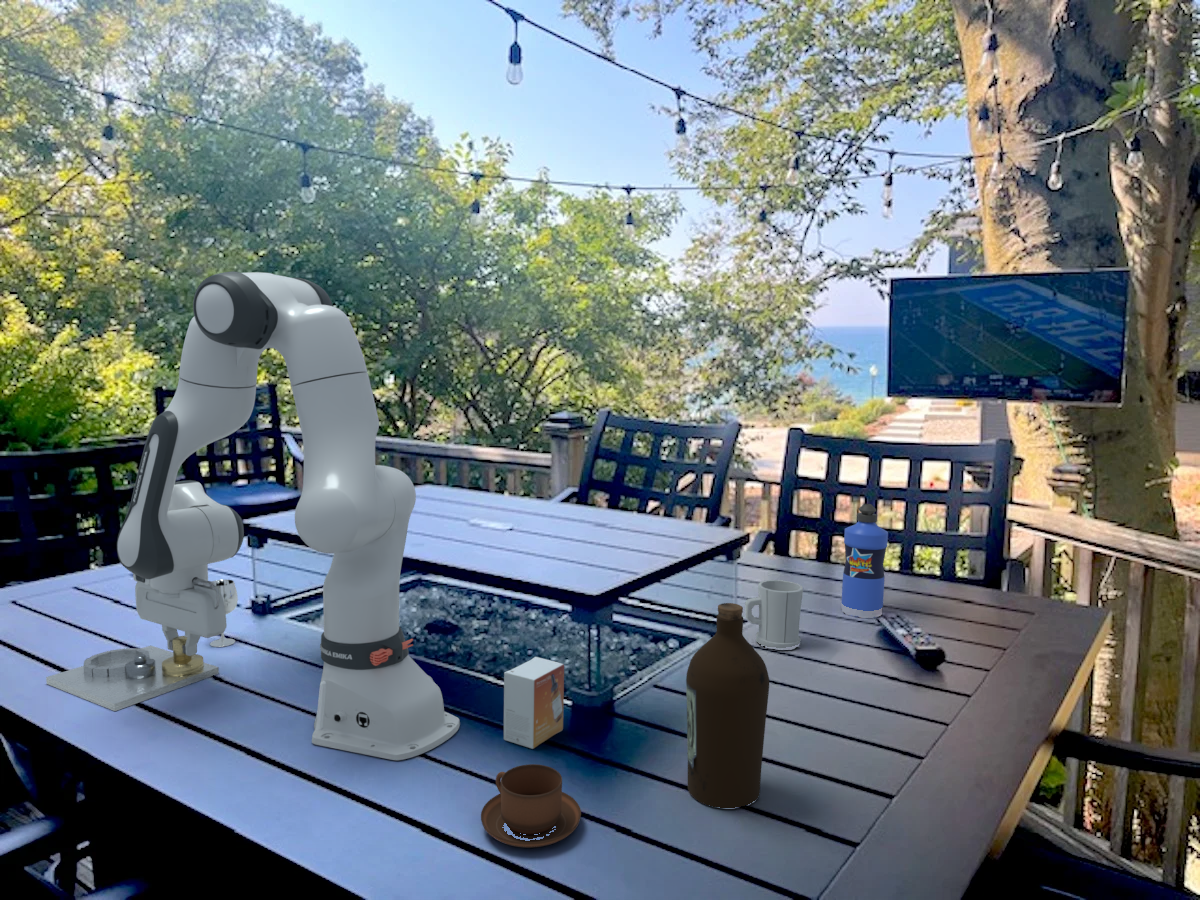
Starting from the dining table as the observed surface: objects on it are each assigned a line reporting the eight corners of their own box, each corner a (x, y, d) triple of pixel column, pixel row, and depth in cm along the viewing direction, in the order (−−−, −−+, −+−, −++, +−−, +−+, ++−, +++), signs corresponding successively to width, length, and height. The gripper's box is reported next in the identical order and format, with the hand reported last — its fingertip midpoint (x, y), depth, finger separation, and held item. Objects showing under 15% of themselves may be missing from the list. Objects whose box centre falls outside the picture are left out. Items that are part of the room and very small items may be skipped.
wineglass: (226, 649, 153) (224, 588, 151) (199, 646, 154) (197, 585, 153) (245, 639, 158) (243, 579, 157) (219, 636, 159) (217, 577, 158)
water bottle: (848, 603, 190) (853, 499, 187) (888, 611, 185) (894, 504, 182) (834, 613, 183) (840, 504, 180) (875, 621, 177) (882, 509, 174)
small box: (532, 750, 116) (533, 680, 114) (502, 740, 119) (502, 671, 117) (564, 729, 122) (565, 663, 121) (534, 720, 125) (535, 655, 124)
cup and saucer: (461, 843, 93) (462, 793, 93) (509, 792, 105) (509, 747, 104) (556, 868, 89) (557, 816, 89) (595, 812, 100) (596, 766, 100)
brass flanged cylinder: (211, 666, 141) (210, 636, 140) (178, 679, 135) (177, 647, 135) (187, 660, 144) (186, 629, 143) (153, 672, 138) (152, 641, 137)
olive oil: (763, 774, 110) (771, 597, 107) (765, 817, 100) (774, 622, 97) (685, 766, 112) (691, 592, 109) (679, 808, 101) (686, 616, 99)
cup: (777, 656, 155) (780, 596, 153) (740, 643, 161) (742, 585, 160) (809, 645, 161) (812, 586, 160) (772, 633, 168) (774, 577, 167)
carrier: (218, 673, 141) (218, 649, 141) (114, 711, 126) (113, 684, 125) (150, 651, 151) (149, 628, 150) (46, 683, 135) (45, 658, 135)
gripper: (234, 578, 135) (237, 658, 137) (161, 562, 145) (164, 636, 147) (200, 587, 130) (203, 670, 131) (126, 569, 140) (130, 646, 141)
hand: (182, 651), depth 139 cm, fingers closed on brass flanged cylinder, 3 cm apart
